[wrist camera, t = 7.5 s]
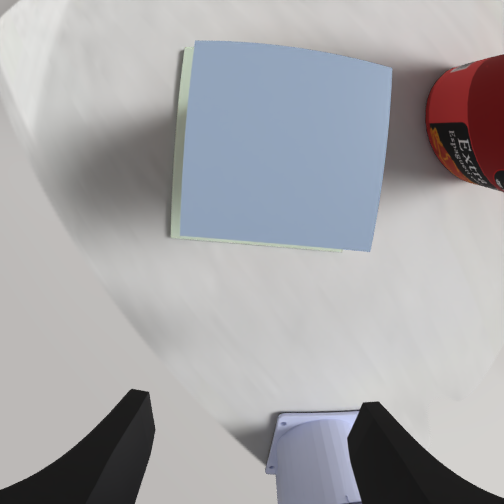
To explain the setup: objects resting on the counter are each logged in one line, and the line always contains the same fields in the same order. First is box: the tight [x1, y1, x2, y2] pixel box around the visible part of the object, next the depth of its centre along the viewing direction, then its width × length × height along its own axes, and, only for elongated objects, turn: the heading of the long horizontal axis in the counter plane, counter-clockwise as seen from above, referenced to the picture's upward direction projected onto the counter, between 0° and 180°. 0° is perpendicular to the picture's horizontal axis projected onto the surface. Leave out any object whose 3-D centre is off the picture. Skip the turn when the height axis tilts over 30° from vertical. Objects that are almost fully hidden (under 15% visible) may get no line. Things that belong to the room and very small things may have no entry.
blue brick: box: [180, 41, 392, 252], centre depth 10 cm, size 5×5×5 cm
